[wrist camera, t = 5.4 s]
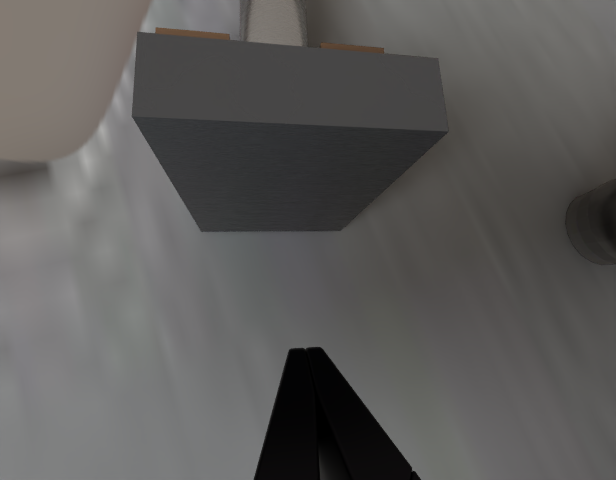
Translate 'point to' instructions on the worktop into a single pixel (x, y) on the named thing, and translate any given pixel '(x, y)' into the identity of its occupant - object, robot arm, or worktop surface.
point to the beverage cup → (594, 224)
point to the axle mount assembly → (281, 121)
